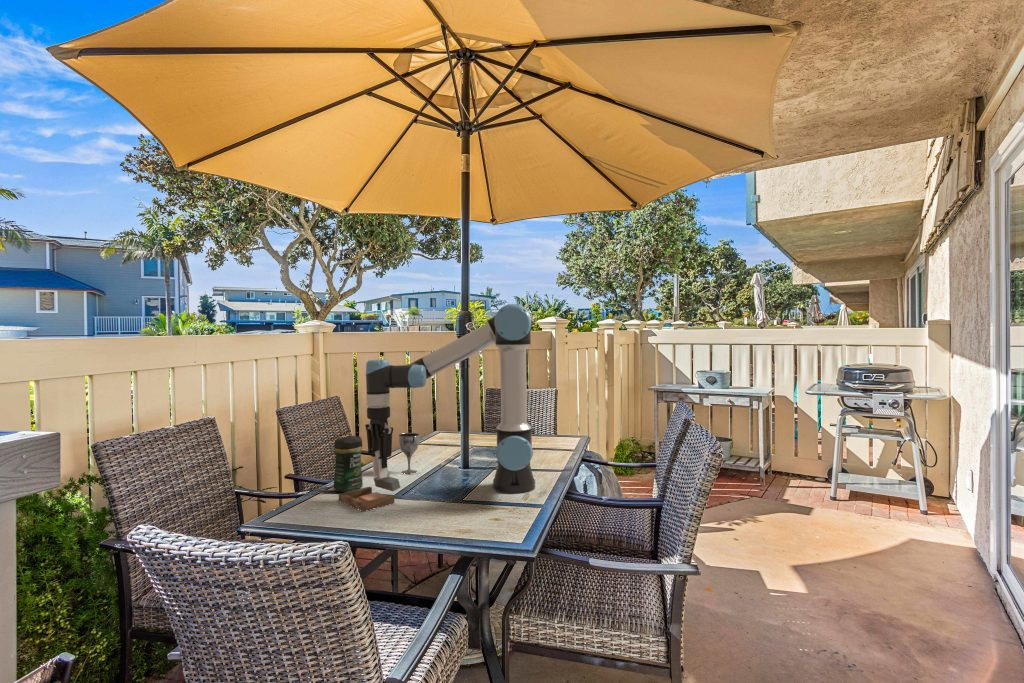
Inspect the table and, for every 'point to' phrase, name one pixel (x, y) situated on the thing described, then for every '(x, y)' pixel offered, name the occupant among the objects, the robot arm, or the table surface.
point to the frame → (352, 500)
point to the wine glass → (408, 447)
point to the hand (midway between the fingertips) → (380, 476)
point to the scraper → (386, 479)
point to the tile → (370, 496)
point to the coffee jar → (348, 464)
